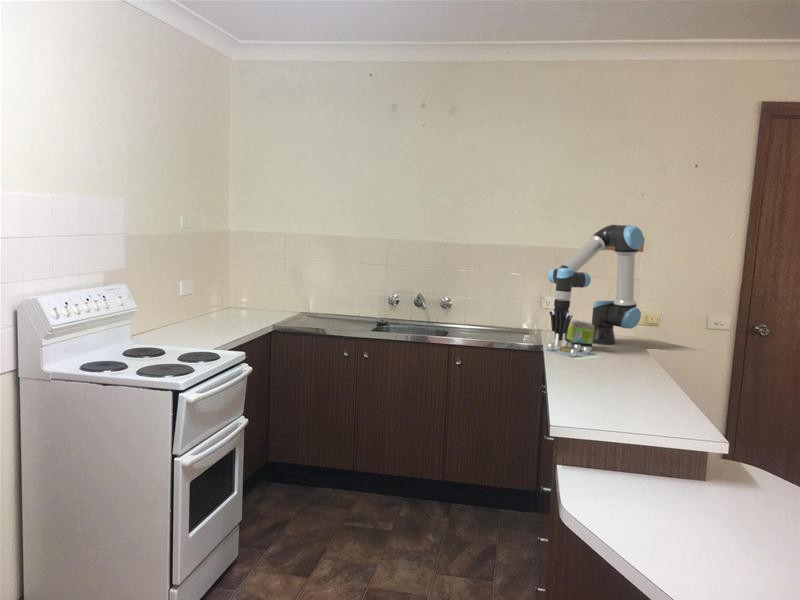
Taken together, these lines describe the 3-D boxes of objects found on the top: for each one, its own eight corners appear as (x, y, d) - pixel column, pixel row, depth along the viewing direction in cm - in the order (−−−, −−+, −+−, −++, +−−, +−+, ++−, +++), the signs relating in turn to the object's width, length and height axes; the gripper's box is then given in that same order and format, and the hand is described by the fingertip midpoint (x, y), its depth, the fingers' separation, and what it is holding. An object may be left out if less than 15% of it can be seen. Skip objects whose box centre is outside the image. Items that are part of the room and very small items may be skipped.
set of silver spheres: (566, 348, 336) (566, 341, 336) (593, 355, 322) (594, 348, 322) (545, 350, 327) (546, 343, 327) (573, 357, 313) (574, 350, 313)
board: (567, 350, 337) (567, 347, 337) (603, 359, 320) (603, 356, 320) (542, 352, 327) (543, 350, 327) (578, 362, 309) (579, 359, 309)
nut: (563, 350, 330) (564, 346, 330) (571, 352, 326) (572, 348, 326) (557, 350, 328) (558, 346, 328) (565, 352, 324) (566, 348, 323)
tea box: (591, 353, 334) (595, 324, 332) (572, 352, 333) (575, 323, 331) (581, 347, 349) (584, 319, 347) (562, 346, 348) (565, 318, 346)
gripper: (547, 297, 330) (542, 344, 334) (567, 301, 320) (562, 349, 323) (557, 297, 335) (552, 343, 338) (578, 301, 324) (573, 348, 328)
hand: (557, 346), depth 331 cm, fingers closed
